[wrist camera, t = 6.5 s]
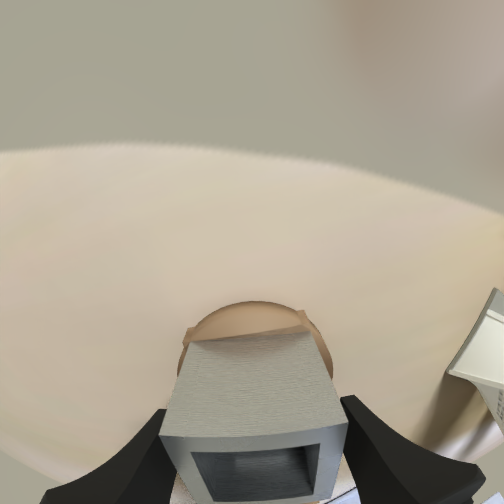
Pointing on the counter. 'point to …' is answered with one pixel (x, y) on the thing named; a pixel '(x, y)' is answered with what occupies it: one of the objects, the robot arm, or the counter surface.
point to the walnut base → (254, 327)
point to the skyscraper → (485, 357)
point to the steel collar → (255, 421)
